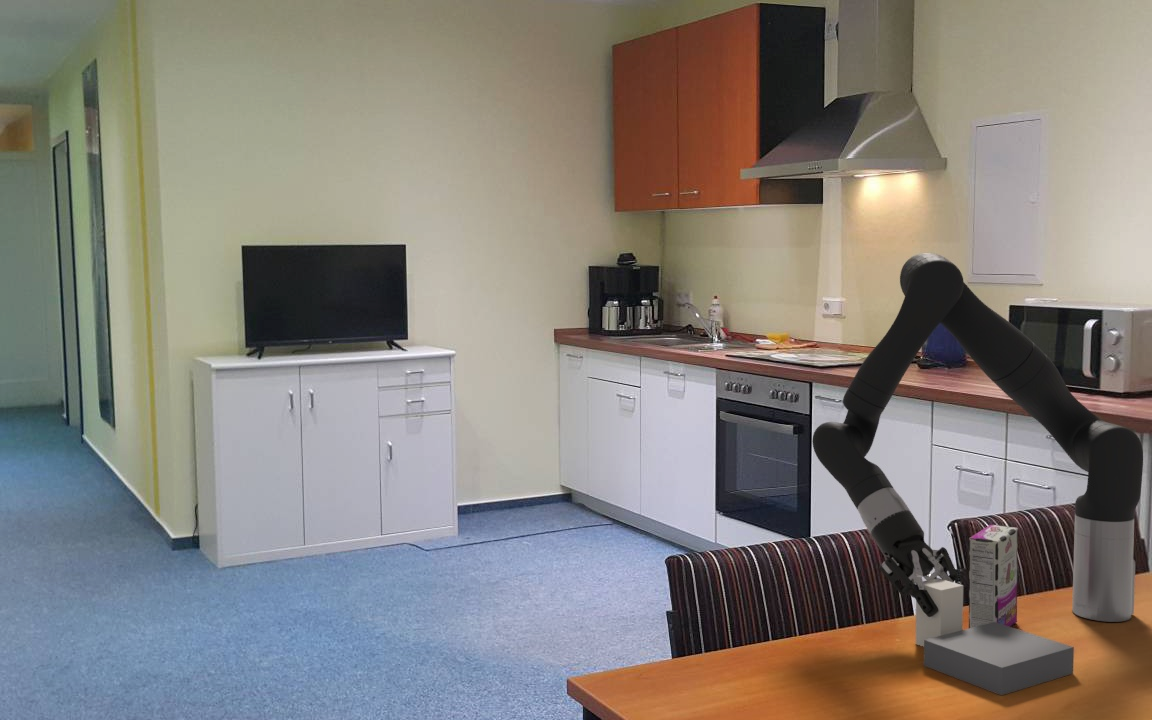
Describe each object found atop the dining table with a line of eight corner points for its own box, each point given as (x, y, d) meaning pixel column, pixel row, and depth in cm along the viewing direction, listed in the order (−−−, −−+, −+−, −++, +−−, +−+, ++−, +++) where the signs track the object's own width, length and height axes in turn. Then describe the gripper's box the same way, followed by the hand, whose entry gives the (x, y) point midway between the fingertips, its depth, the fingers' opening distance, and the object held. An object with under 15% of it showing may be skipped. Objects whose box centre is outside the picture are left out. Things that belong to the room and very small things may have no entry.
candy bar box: (987, 617, 193) (989, 523, 191) (1017, 623, 190) (1019, 527, 188) (965, 635, 184) (967, 536, 182) (997, 641, 181) (999, 540, 179)
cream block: (937, 638, 182) (938, 578, 181) (962, 647, 178) (963, 585, 177) (915, 644, 179) (916, 582, 179) (940, 653, 175) (941, 590, 174)
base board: (994, 646, 178) (994, 621, 178) (1073, 673, 166) (1073, 647, 166) (923, 665, 170) (924, 639, 169) (1001, 695, 158) (1001, 667, 157)
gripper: (870, 514, 180) (928, 606, 171) (932, 503, 187) (991, 591, 178) (846, 540, 185) (901, 631, 176) (908, 529, 192) (963, 616, 183)
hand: (946, 610), depth 177 cm, fingers closed on cream block, 5 cm apart
